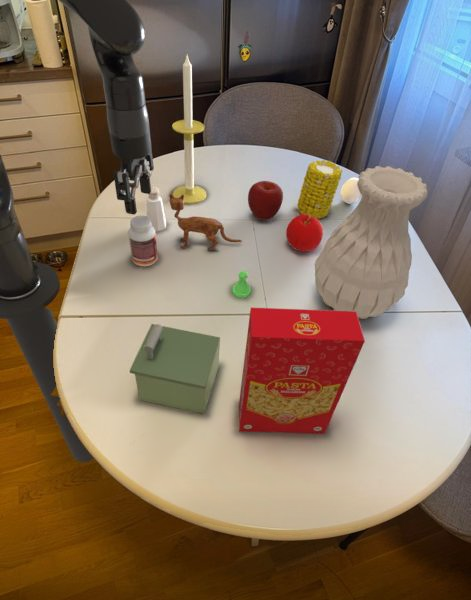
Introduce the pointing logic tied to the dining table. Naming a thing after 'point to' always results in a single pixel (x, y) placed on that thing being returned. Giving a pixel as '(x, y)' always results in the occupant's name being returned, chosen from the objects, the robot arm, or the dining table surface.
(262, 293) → the dining table surface
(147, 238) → the pill bottle
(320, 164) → the food
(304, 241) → the fruit
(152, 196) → the pepper shaker
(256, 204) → the apple
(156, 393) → the bin
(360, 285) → the vase
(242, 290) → the game piece
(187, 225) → the cat figurine
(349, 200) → the egg
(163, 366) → the bread bin lid
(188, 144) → the candle
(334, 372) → the food packaging
